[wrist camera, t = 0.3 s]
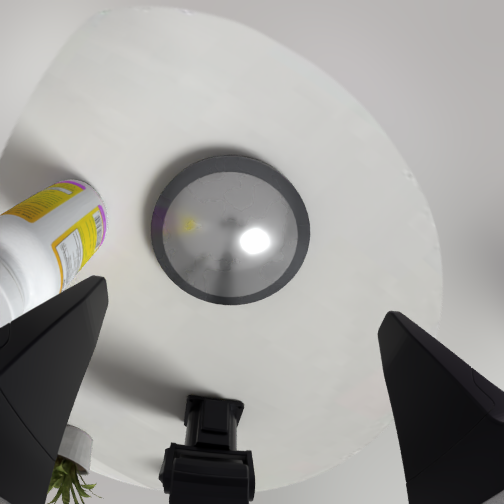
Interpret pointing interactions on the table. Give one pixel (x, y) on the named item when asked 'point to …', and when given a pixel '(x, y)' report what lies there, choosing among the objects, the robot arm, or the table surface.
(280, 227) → the base
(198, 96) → the table surface
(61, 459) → the house plant
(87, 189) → the supplement bottle
